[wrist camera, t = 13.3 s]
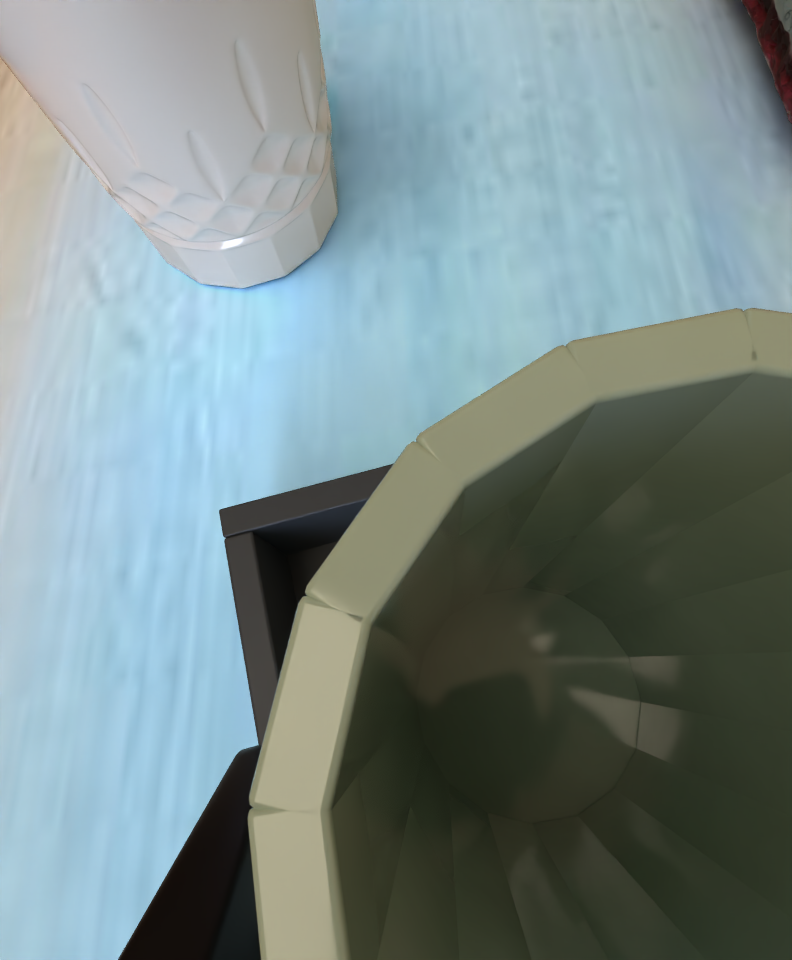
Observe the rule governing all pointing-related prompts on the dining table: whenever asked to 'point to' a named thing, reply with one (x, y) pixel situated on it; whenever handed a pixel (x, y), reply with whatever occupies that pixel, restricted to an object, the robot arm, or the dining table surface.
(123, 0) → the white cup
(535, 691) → the tumbler
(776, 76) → the packaged food
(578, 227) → the dining table surface
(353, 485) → the tub
